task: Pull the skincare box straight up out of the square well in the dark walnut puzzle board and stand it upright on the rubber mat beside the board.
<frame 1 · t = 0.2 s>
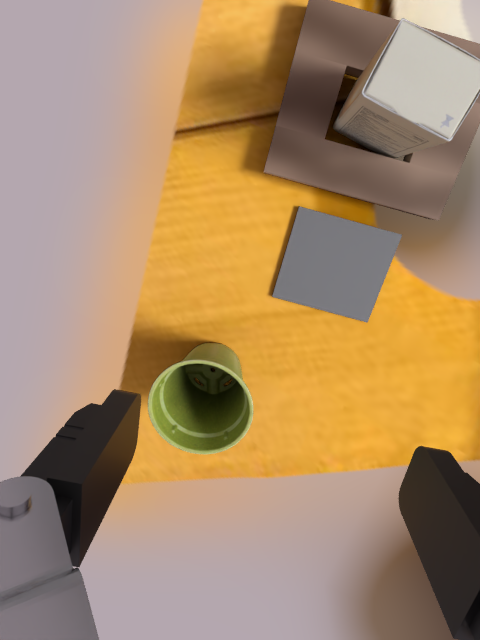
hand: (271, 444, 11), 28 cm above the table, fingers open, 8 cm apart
plant pot: (212, 366, 42), on the table
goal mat: (334, 266, 37), on the table
skincare box: (371, 120, 33), resting in puzzle board
puzzle board: (372, 120, 33), on the table
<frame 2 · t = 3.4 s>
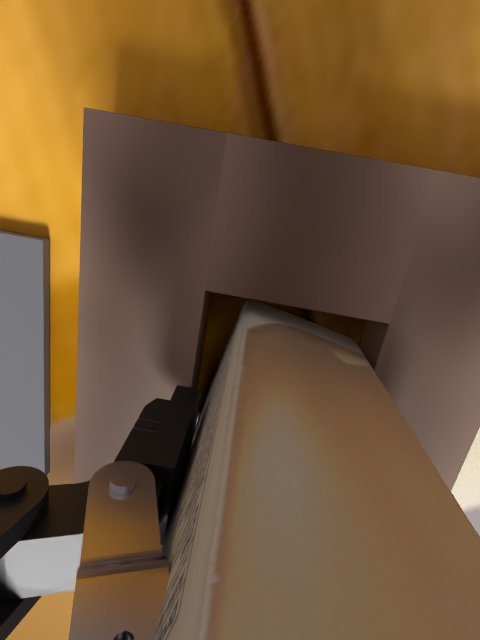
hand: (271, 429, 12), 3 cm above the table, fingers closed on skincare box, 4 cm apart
skincare box: (271, 382, 15), resting in puzzle board, touching gripper
puzzle board: (271, 385, 14), on the table
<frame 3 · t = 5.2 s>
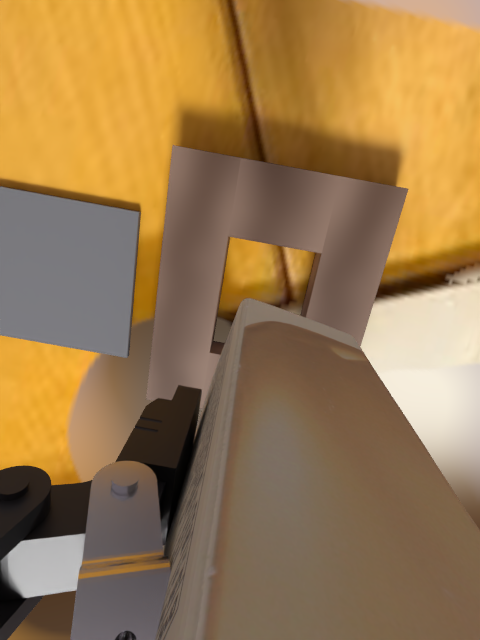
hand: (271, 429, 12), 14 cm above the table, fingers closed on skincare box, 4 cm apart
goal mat: (67, 276, 25), on the table
skincare box: (270, 380, 15), point 11 cm above the table, touching gripper
puzzle board: (262, 296, 25), on the table
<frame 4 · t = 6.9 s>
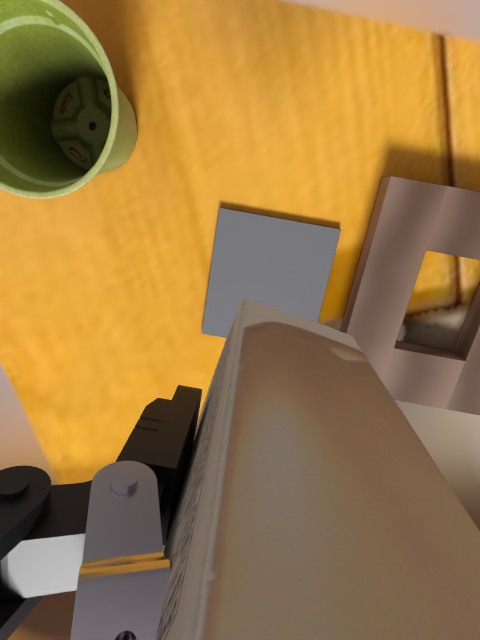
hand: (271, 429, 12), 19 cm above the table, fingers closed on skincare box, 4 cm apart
plant pot: (97, 126, 27), on the table
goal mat: (267, 283, 30), on the table
skincare box: (270, 380, 15), point 16 cm above the table, touching gripper
puzzle board: (435, 300, 30), on the table
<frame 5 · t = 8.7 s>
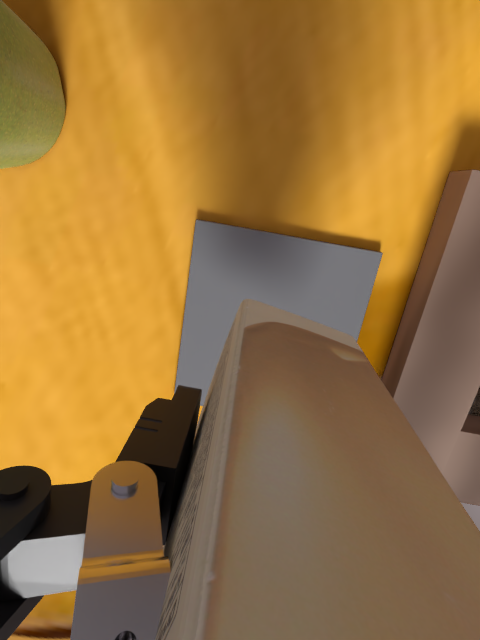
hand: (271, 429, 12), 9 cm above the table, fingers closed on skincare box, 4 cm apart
plant pot: (5, 94, 18), on the table
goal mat: (269, 330, 20), on the table
skincare box: (270, 380, 15), point 6 cm above the table, touching gripper
when the fingers open (4 cm above the table, at t = 10.5 s): skincare box stays where it is, resting on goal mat.
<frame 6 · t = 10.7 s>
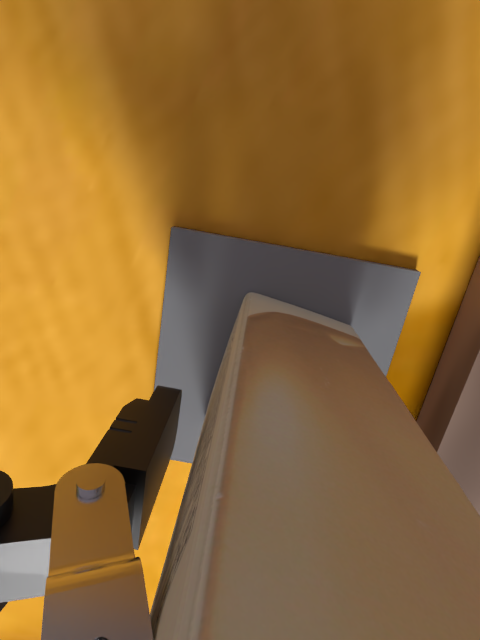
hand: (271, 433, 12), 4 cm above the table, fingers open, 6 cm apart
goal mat: (268, 369, 16), on the table
skincare box: (274, 370, 15), resting on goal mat
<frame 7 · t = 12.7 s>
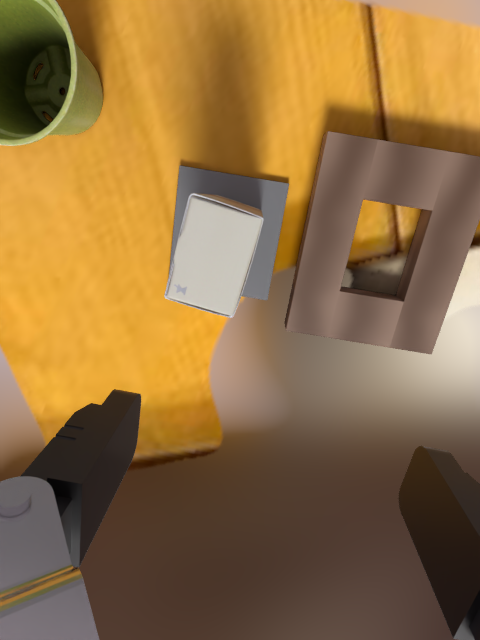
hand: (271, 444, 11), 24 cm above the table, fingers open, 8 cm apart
plant pot: (67, 92, 30), on the table
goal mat: (226, 235, 33), on the table
skincare box: (228, 235, 33), resting on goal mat
puzzle board: (377, 248, 33), on the table
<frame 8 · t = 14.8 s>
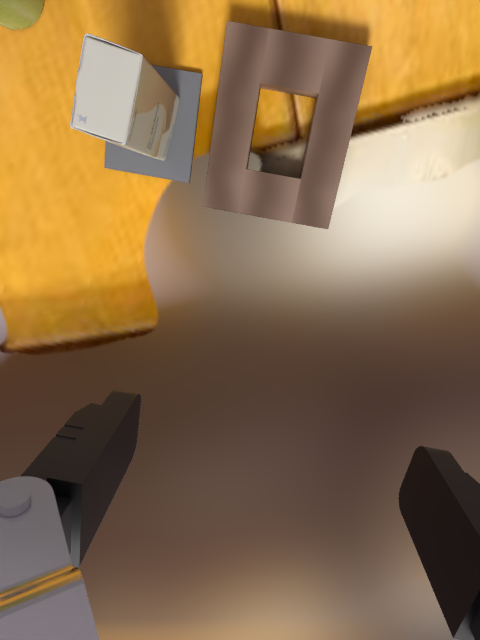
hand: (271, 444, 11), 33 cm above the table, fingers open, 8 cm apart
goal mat: (152, 123, 39), on the table
skincare box: (153, 122, 38), resting on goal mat
puzzle board: (280, 135, 38), on the table
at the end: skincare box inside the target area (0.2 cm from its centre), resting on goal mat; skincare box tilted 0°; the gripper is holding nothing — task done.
